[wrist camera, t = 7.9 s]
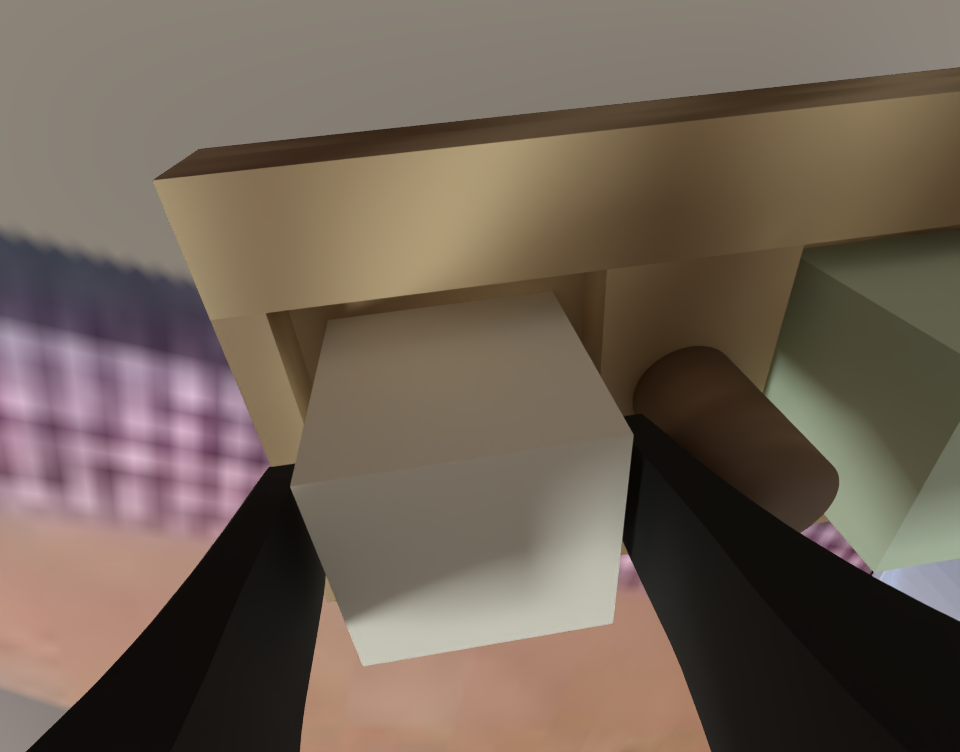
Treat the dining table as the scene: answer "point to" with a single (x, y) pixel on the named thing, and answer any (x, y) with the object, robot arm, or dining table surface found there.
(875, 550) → the sage block
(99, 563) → the dining table surface
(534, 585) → the cream block
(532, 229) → the pocket board
